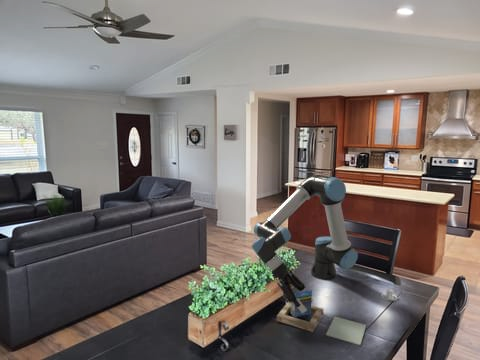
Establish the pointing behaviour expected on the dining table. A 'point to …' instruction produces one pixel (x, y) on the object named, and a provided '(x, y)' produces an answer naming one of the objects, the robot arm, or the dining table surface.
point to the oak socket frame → (297, 322)
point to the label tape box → (304, 300)
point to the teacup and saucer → (389, 295)
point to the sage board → (346, 330)
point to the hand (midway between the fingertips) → (307, 306)
